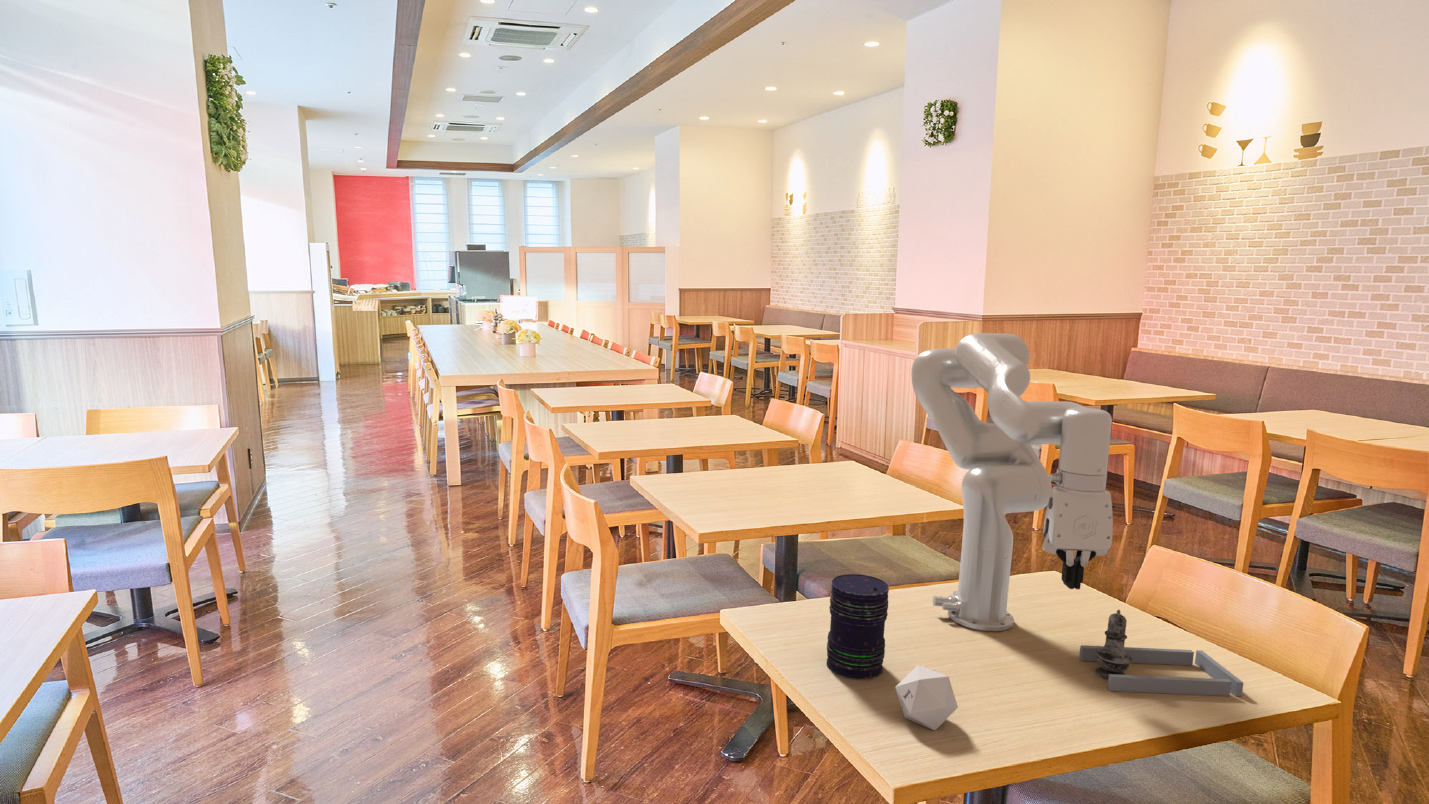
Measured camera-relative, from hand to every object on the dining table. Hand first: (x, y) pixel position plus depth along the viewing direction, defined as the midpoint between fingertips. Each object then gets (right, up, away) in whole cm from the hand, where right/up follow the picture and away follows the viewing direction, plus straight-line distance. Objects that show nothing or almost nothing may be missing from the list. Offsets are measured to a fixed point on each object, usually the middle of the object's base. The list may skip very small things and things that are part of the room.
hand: (1071, 586), depth 140 cm
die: (-29, -17, -15) cm, 37 cm away
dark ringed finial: (+8, -16, +3) cm, 18 cm away
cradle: (+15, -16, +3) cm, 22 cm away
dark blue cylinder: (-37, -15, +2) cm, 40 cm away
